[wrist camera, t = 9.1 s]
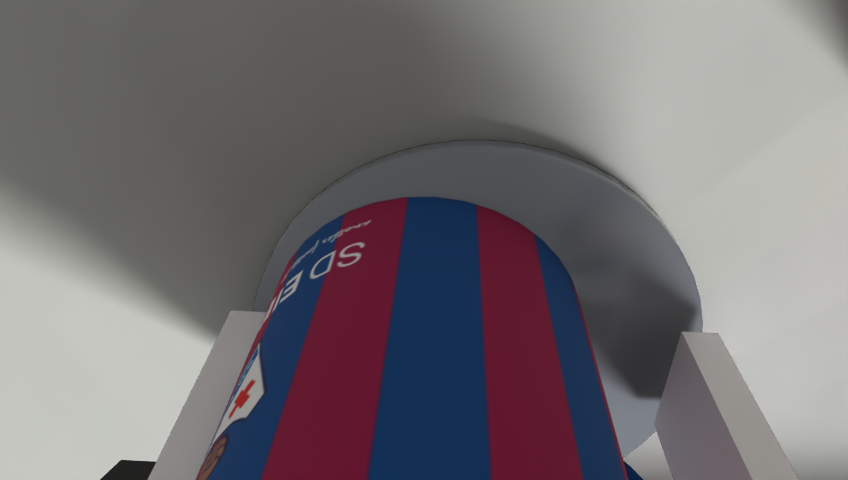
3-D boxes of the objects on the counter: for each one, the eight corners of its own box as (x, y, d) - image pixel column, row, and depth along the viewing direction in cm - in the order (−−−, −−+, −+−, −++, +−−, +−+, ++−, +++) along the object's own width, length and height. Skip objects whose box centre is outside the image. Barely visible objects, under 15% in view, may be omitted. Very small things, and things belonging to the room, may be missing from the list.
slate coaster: (233, 129, 12) (223, 140, 12) (750, 151, 12) (763, 164, 12) (280, 469, 18) (274, 488, 17) (642, 489, 17) (648, 509, 17)
